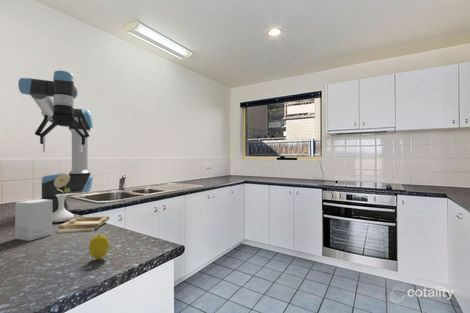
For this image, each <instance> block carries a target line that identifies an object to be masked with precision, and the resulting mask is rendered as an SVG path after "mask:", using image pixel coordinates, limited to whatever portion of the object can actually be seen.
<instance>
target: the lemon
mask: <svg viewBox="0 0 470 313" xmlns="http://www.w3.org/2000/svg"><path fill="white" fill-rule="evenodd" d="M88 245H89V246H88V251H89V252H88V253H89V254H90V256H91V257H92V258H94V259H97V260H101V259H102V258H103V257H105V255H106V254H107V253H108V251H109V248H110V241H109V239H108V238H107V237H106V235H104V234H101V233H98V234H97V235H95V236H94V237H92V239H91V240H90V241H89V244H88Z"/></svg>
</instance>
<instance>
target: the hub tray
mask: <svg viewBox="0 0 470 313" xmlns="http://www.w3.org/2000/svg"><path fill="white" fill-rule="evenodd" d="M109 220H110V215H105V216H104V215H101V216H80V217H75V216H74V218H73V219H71V220H68V221H64V223H62V224H60V225H58V226H57V227H58V230H57V231H58V232H57V233H59V234H60V233H61V234H62V233H63V234H64V233H79V232H82V233H83V232H94V231H96V230H97V229H98V228H100V227H102V225H104V224H105V223H107V221H109ZM99 226H100V227H99Z"/></svg>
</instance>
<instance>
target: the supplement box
mask: <svg viewBox="0 0 470 313" xmlns="http://www.w3.org/2000/svg"><path fill="white" fill-rule="evenodd" d="M14 204H15V207H14V208H15V209H14V210H15V214H14V215H15V216H14V218H15V222H14V224H15V225H14V227H15V228H14V229H15V231H14V232H15V234H14V239H15V240H19V239H20V241H27V242H31V241H33V240H39V239H41V238H45V237H48V236H52V235H53V222H52V214H53V213H52V200H45V199H42V198H36V199H29V200H21V201H16V202H15V203H14Z"/></svg>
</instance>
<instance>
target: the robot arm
mask: <svg viewBox="0 0 470 313" xmlns="http://www.w3.org/2000/svg"><path fill="white" fill-rule="evenodd" d="M52 77H53V78H52V79H53V80H48V79H47V80H46V79H38V78H31V77H21V78H19V80H18V83H17V84H18V90H19V92H20V93H21V94H23V95H28V96H31V98H32V100H33V101H34V103H36V105H37V106H38V108H39V109H40V110H41V115H42V116H43V119H42V122H41V123H40V124H39V126H38V127H37V129H36V130H35V132H34V135H35V136H38V137H39V143H40V144H41V145H42V152H44V153H47V149H48V137H47V135H48V134H49V133H50V132H51V131H52V130H53V129H54V128H56V127H57V126H59V127H64V128H65V127H66V128H67V127H68V131H70V132H71V170H70V171H69V172H68V175H69V176H70V181H68V183H67V184H66V185H65V186H66V189H67V188H69V189H70V191H71V192H68V193H66V192H65V191H64V190H65V186H62V187H59V188H58V187H56V186H54V180H55V179H56V177H58V176H59V175H61V174H64V173H54V174H48V175H44V176H42V178H41V183H40V184H41V199H45V200H52V212H56V211H57V210H58V207H59V202H58V198H57V197H56V196H55V195H58V194H62V193H63V192H64V193H63V194H67V195H69V194H71V195H72V194H83V193H85V194H86V193H89V192H91V190H92V185H93V180H94V176H93V174H91V171H90V170H89V169H88V165H89V164H88V163H89V162H88V158H89V156H88V154H89V152H88V151H89V150H88V148H89V147H88V141H89V140H88V139H89V137H90V134H89V133H90V132H91V129H93V128H94V125H93V117H92V112H91V111H90V110H89V109H83V108H74V104H75V103H74V100H75V99H76V98H77V97H78V88H77V87H76V85H75V84H74V81H75V79H74V74H73V73H72V72H69V71H66V70H55V71H54V72H53V76H52ZM49 122H50V123H51V124H50V125H49V126H48V127H47V128H46V129H45V127H46V126H47V124H48V123H49ZM57 188H58V189H59V190H62V191H63V192H61V191H59V190H57ZM64 208H65V209H66V210H67V209H68V210H69V205H68V202H67V200H66V198H65V199H64ZM68 210H67V211H68Z"/></svg>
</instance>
